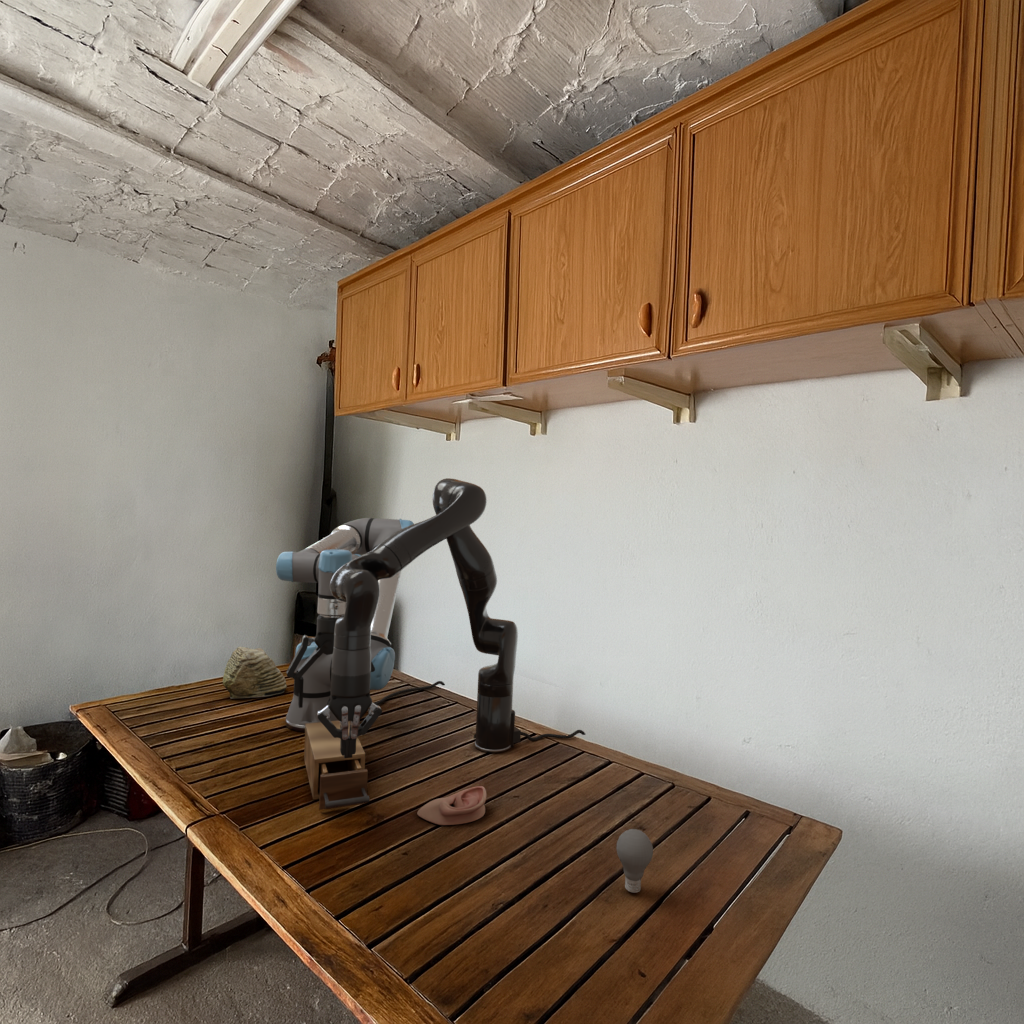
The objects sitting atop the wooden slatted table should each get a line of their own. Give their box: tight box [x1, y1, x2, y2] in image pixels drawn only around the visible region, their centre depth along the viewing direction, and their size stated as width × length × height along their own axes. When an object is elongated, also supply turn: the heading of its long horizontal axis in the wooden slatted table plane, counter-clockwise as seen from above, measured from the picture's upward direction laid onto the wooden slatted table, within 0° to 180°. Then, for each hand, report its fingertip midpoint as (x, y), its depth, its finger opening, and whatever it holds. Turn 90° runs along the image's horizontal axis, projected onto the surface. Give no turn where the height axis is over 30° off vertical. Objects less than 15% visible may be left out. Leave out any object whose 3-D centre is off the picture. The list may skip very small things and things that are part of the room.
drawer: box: [318, 759, 371, 811], centre depth 135 cm, size 26×9×7 cm, turn 23°
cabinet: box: [303, 721, 366, 801], centre depth 144 cm, size 22×10×9 cm, turn 23°
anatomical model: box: [416, 785, 488, 826], centre depth 129 cm, size 13×4×12 cm
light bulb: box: [615, 828, 654, 894], centre depth 106 cm, size 6×6×10 cm
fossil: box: [222, 646, 288, 699], centre depth 198 cm, size 9×18×15 cm, turn 132°
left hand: (330, 703), depth 151 cm, fingers open, 13 cm apart
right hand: (347, 756), depth 125 cm, fingers closed
